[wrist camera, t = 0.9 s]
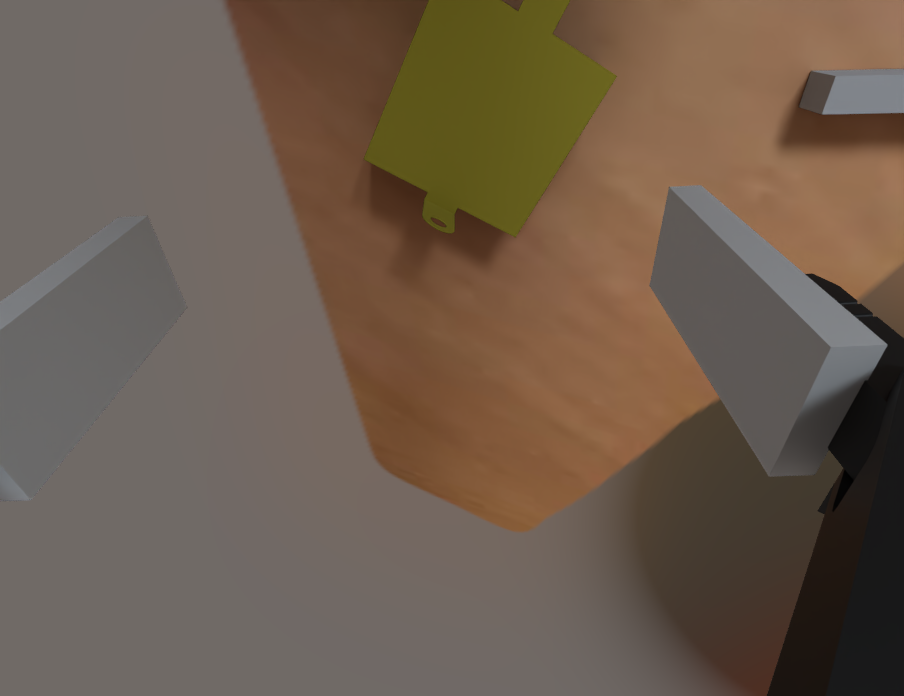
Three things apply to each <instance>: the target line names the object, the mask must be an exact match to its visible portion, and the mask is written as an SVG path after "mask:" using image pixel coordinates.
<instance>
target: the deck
mask: <svg viewBox="0 0 904 696" xmlns="http://www.w3.org/2000/svg"><path fill="white" fill-rule="evenodd" d="M799 107H800V108H803V109H806V110H809V111H812V112H815V113H819V114H822V115H823V114H871V113H904V69H874V70H828V71H811V73H810V76H809V79H808V82H807V84H806V87H805V90H804V93H803V96H802V99H801V102H800V105H799Z"/></svg>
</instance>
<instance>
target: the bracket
mask: <svg viewBox="0 0 904 696" xmlns="http://www.w3.org/2000/svg"><path fill="white" fill-rule="evenodd" d="M569 2H570V0H523V2H522V4H521V6H520V8H519V10H518V11H517V10H515V9H514V8H512V7H511V6H509V5H508V4H506V3H505V2H503V1H502V0H428V3H427V5H426V8H425V10H424V13H423V15H422V18H421V20H420V22H419V25H418V27H417V30H416V32H415V35H414V37H413V40H412V42H411V44H410V47H409V49H408V52H407V54H406V57H405V59H404V62H403V64H402V66H401V69H400V71H399V74H398V76H397V79H396V81H395V84H394V86H393V88H392V91H391V93H390V96H389V98H388V101H387V103H386V106H385V108H384V110H383V113H382V115H381V118H380V120H379V123H378V125H377V128H376V130H375V132H374V135H373V137H372V140H371V142H370V145H369V147H368V150H367V152H366V154H365V157H364V160H366V161H368V162H370V163H372V164H374V165H376V166H378V167H380V168H381V169H383V170H385V171H387V172H389V173H391V174H393V175H395V176H397V177H399V178H401V179H403V180H405V181H407V182H409V183H411V184H413V185H415V186H416V187H418V188H420V189H422V190H424V191H426V192H428V193H427V195H426V197H425V199H424V205H423V212H422V217H423V219H424V220H425V221H426V222H427V223H428V224H429V225H431V226H432V227H434V228H435V229H437V230H439V231H442V232H444V233H450V234H451V233H453V232H454V231H455V219H454V214H455V212H456V210H457V209H458V208H459V209H461V210H463V211H465V212H467V213H469V214H471V215H473V216H475V217H477V218H479V219H481V220H483V221H484V222H486V223H488V224H490V225H492V226H494V227H496V228H498V229H500V230H502V231H504V232H506V233H508V234H510V235H512V236H514V237H516V236H517V234H518V233H519V231H520V229H521V228H522V226H523V225H524V223H525V222H526V220H527V218H528V217H529V215H530V214H531V212H532V210H533V209H534V207H535V206H536V204H537V203H538V201H539V199H540V198H541V196H542V195H543V193H544V191H545V190H546V188H547V187H548V185H549V183H550V182H551V180H552V179H553V177H554V176H555V174H556V172H557V171H558V169H559V168H560V166H561V164H562V163H563V161H564V160H565V158H566V156H567V155H568V153H569V152H570V150H571V149H572V147H573V145H574V144H575V142H576V141H577V139H578V137H579V136H580V134H581V133H582V131H583V130H584V128H585V126H586V125H587V123H588V122H589V120H590V118H591V117H592V115H593V114H594V112H595V110H596V109H597V107H598V106H599V104H600V103H601V101H602V99H603V98H604V96H605V95H606V93H607V91H608V90H609V88H610V87H611V85H612V84H613V82H614V80H615V79H616V77H617V76H616V75H615V74H613V73H612V72H610V71H608V70H607V69H605V68H604V67H602V66H601V65H599V64H598V63H596V62H595V61H593V60H592V59H590V58H589V57H587V56H586V55H584V54H583V53H581V52H579V51H578V50H576V49H575V48H573V47H572V46H570V45H569V44H567V43H566V42H564V41H563V40H561V39H560V38H558V37H557V36H555V35H554V34H552V33H553V31H554V30H555V28H556V26H557V24H558V22H559V20H560V18H561V17H562V15H563V13H564V11H565V9H566V7H567V6H568V4H569ZM431 218H435V219H438V220H440V221H441V222H443V223H444V224H445V225H446V227H441V226H439V225H437V224H435V223H434V222H433V221H432V220H431Z"/></svg>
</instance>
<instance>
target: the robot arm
mask: <svg viewBox="0 0 904 696" xmlns="http://www.w3.org/2000/svg"><path fill="white" fill-rule="evenodd" d="M650 287H651V289H652V290H653V292H654V293H655V295H656V297H657V298H658V300H659V301H660V303H661V305H662V306H663V308H664V309H665V311H666V313H667V314H668V316H669V317H670V319H671V321H672V322H673V324H674V325H675V327H676V329H677V330H678V332H679V333H680V335H681V337H682V338H683V340H684V341H685V343H686V345H687V346H688V348H689V349H690V351H691V353H692V354H693V356H694V357H695V359H696V361H697V362H698V364H699V365H700V367H701V369H702V370H703V372H704V373H705V375H706V377H707V378H708V380H709V381H710V383H711V385H712V386H713V388H714V389H715V391H716V392H717V394H718V396H719V397H720V399H721V400H722V402H723V404H724V405H725V407H726V408H727V410H728V412H729V413H730V415H731V416H732V418H733V420H734V421H735V423H736V424H737V426H738V428H739V429H740V431H741V432H742V434H743V436H744V437H745V439H746V440H747V442H748V444H749V445H750V447H751V448H752V450H753V452H754V453H755V455H756V456H757V458H758V459H759V461H760V463H761V464H762V466H763V468H764V469H765V471H766V472H767V474H768V475H769V476H796V475H815V474H816V472H817V470H818V468H819V466H820V465H821V463H822V461H823V459H824V458H825V456H826V454H827V452H828V450H830V451H831V453H832V454H833V455H834V456H835V458H836V459H837V460H838V461H839V463H840V464H841V465H842V467H843V470H842V472H841V473H840V475H839V476H838V478H837V480H836V482H835V483H834V485H833V487H832V488H831V490H830V491H829V493H828V495H827V496H826V498H825V500H824V501H823V503H822V505H821V506H820V508H819V510H818V511H819V512H821V513H823V514H825V515H824V518H823V521H822V524H821V528H820V531H819V534H818V537H817V540H816V543H815V547H814V549H813V553H812V556H811V559H810V562H809V565H808V568H807V572H806V574H805V578H804V581H803V584H802V587H801V590H800V594H799V597H798V600H797V603H796V606H795V609H794V612H793V615H792V618H791V622H790V625H789V628H788V631H787V634H786V637H785V641H784V644H783V647H782V650H781V653H780V656H779V659H778V662H777V665H776V669H775V672H774V675H773V678H772V681H771V684H770V687H769V691H768V694H767V696H904V338H903V337H901V336H900V335H899V334H897V333H896V332H895V331H894V330H893V329H891V328H890V327H889V326H888V325H887V324H885V323H884V322H883V321H882V320H880V319H879V318H878V317H873V314H872V312H870V311H869V310H868V309H867V308H866V307H864V306H863V305H862V304H857V300H856V299H854V298H853V297H852V296H851V295H850V294H848V293H847V292H846V291H845V290H843V289H842V288H841V287H840V286H838V285H836V284H834V283H832V282H829V281H827V280H825V279H823V278H821V277H819V276H816V275H814V274H804V273H803V272H802V271H801V270H800V269H798V268H797V267H796V266H795V265H794V264H793V263H791V262H790V261H789V260H788V259H787V258H785V257H784V256H783V255H782V254H781V253H780V252H778V251H777V250H776V249H775V248H774V247H773V246H771V245H770V244H769V243H768V242H767V241H766V240H764V239H763V238H762V237H761V236H760V235H759V234H757V233H756V232H755V231H754V230H753V229H752V228H750V227H749V226H748V225H747V224H746V223H744V222H743V221H742V220H741V219H740V218H739V217H737V216H736V215H735V214H734V213H733V212H732V211H730V210H729V209H728V208H727V207H726V206H725V205H723V204H722V203H721V202H720V201H719V200H718V199H716V198H715V197H714V196H713V195H712V194H711V193H709V192H708V191H707V190H706V189H705V188H703V187H702V186H701V185H697V186H679V187H669V190H668V195H667V200H666V205H665V211H664V216H663V221H662V226H661V231H660V236H659V241H658V246H657V251H656V256H655V261H654V266H653V271H652V276H651V281H650ZM186 309H187V305H186V303H185V301H184V298H183V296H182V294H181V292H180V289H179V287H178V285H177V282H176V280H175V278H174V275H173V273H172V271H171V268H170V266H169V264H168V262H167V259H166V257H165V255H164V252H163V250H162V248H161V245H160V243H159V241H158V238H157V236H156V234H155V232H154V229H153V227H152V224H151V222H150V220H149V218H148V216H131V217H118V218H117V219H115V220H114V221H112V222H111V223H110V224H108V225H107V226H105V227H104V228H103V229H101V230H100V231H98V232H97V233H96V234H94V235H93V236H91V237H90V238H89V239H87V240H86V241H85V242H83V243H82V244H80V245H79V246H77V247H76V248H75V249H73V250H72V251H71V252H69V253H68V254H66V255H65V256H63V257H62V258H61V259H59V260H58V261H57V262H55V263H54V264H52V265H51V266H49V267H48V268H47V269H45V270H44V271H42V272H41V273H40V274H38V275H37V276H35V277H34V278H33V279H31V280H30V281H28V282H27V283H26V284H24V285H23V286H22V287H20V288H19V289H18V290H16V291H14V292H13V293H12V294H10V295H9V296H7V297H6V298H5V299H3V300H2V301H0V501H21V500H32V498H33V497H34V496H35V495H36V494H37V492H38V491H39V490H40V489H41V487H42V486H43V485H44V484H45V483H46V481H47V480H48V479H49V478H50V476H51V475H52V474H53V473H54V471H55V470H56V469H57V467H58V466H59V465H60V464H61V463H62V462H63V460H64V459H65V458H66V457H67V455H68V454H69V453H70V452H71V450H72V449H73V448H74V447H75V446H76V444H77V443H78V442H79V441H80V439H81V438H82V437H83V436H84V434H85V433H86V432H87V431H88V429H89V428H90V427H91V426H92V425H93V423H94V422H95V421H96V420H97V418H98V417H99V416H100V415H101V413H102V412H103V411H104V410H105V408H106V407H107V406H108V405H109V404H110V402H111V401H112V400H113V398H114V397H115V396H116V395H117V394H118V392H119V391H120V390H121V389H122V388H123V386H124V385H125V384H126V383H127V381H128V380H129V379H130V378H131V376H132V375H133V374H134V373H135V371H136V370H137V369H138V367H140V365H141V364H142V363H143V362H144V360H145V359H146V358H147V357H148V355H149V354H150V353H151V352H152V350H153V349H154V348H155V347H156V346H157V344H158V343H159V342H160V341H161V339H162V338H163V337H164V336H165V334H166V333H167V332H168V331H169V329H170V328H171V327H172V326H173V324H174V323H175V322H176V321H177V320H178V318H179V317H180V316H181V315H182V313H183V312H184V311H185V310H186Z"/></svg>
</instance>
